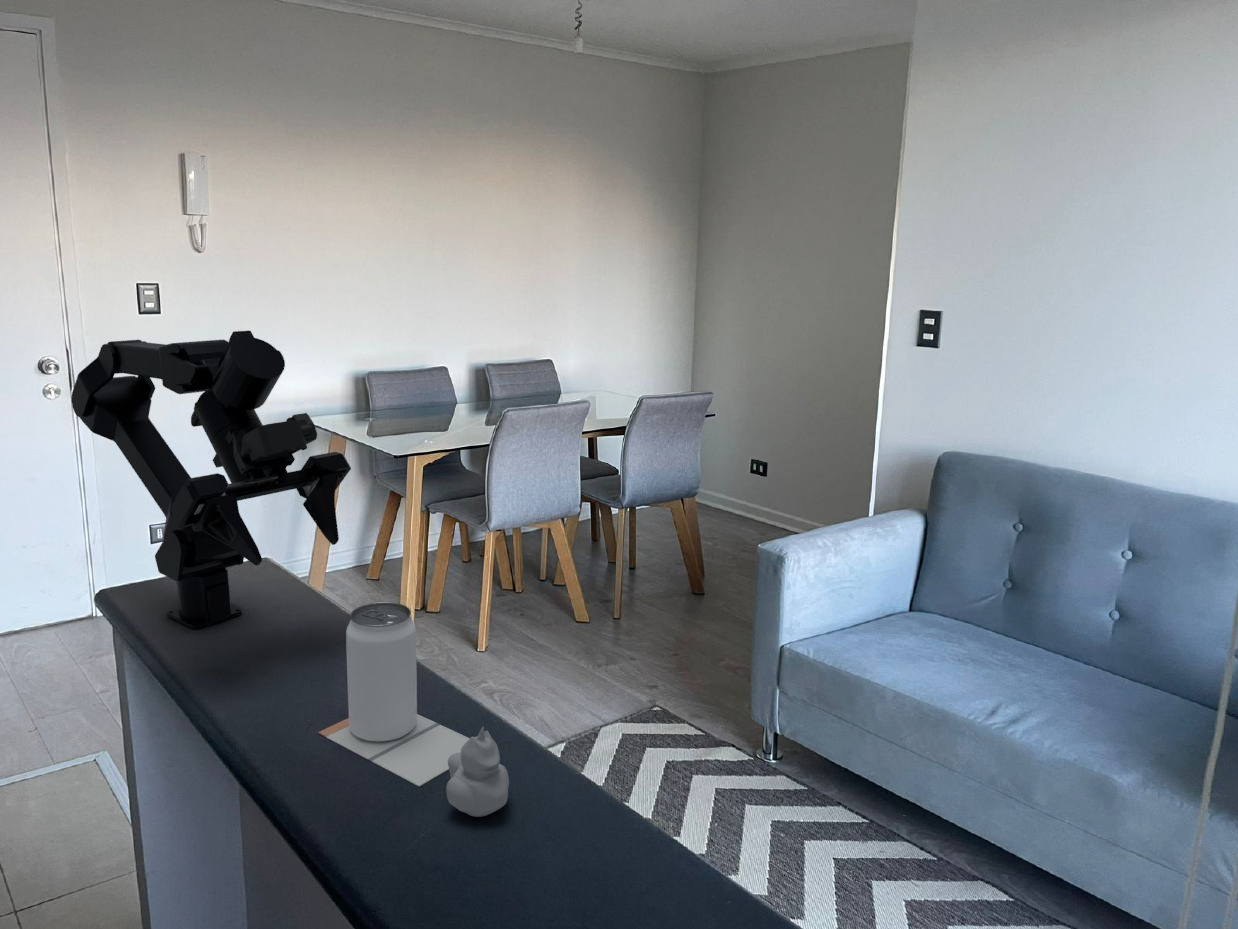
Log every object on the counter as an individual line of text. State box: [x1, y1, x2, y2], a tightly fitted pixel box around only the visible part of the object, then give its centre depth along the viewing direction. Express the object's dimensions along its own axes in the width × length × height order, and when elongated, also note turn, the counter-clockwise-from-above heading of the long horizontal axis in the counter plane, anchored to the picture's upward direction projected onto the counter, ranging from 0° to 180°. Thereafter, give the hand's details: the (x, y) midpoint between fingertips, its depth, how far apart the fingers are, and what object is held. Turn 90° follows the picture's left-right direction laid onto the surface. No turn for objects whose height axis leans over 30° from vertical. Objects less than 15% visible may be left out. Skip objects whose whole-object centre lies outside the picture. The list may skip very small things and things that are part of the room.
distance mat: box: [317, 713, 471, 788], centre depth 92 cm, size 14×8×1 cm, turn 54°
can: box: [345, 601, 418, 743], centre depth 92 cm, size 6×6×12 cm
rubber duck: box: [445, 726, 510, 818], centre depth 81 cm, size 5×7×8 cm
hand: (298, 552), depth 102 cm, fingers open, 9 cm apart
